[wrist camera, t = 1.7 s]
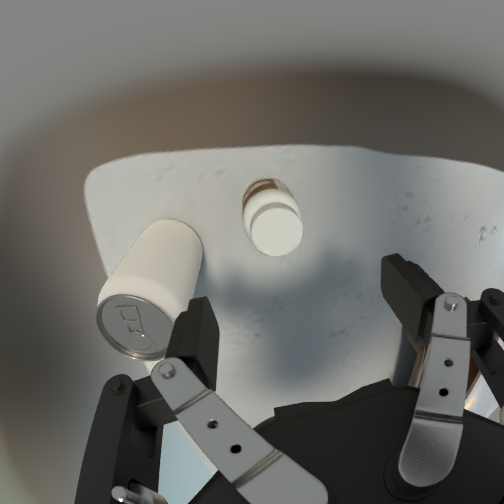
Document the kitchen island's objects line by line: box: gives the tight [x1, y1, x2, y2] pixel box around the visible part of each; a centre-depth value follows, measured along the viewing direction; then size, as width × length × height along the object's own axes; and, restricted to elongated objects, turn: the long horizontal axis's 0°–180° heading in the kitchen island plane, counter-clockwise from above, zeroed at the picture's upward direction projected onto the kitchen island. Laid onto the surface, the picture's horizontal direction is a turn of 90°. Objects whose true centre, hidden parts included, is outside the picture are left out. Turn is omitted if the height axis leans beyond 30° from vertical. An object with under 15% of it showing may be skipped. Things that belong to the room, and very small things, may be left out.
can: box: [95, 219, 203, 361], centre depth 21 cm, size 6×6×12 cm
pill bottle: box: [242, 178, 303, 257], centre depth 22 cm, size 4×4×8 cm
